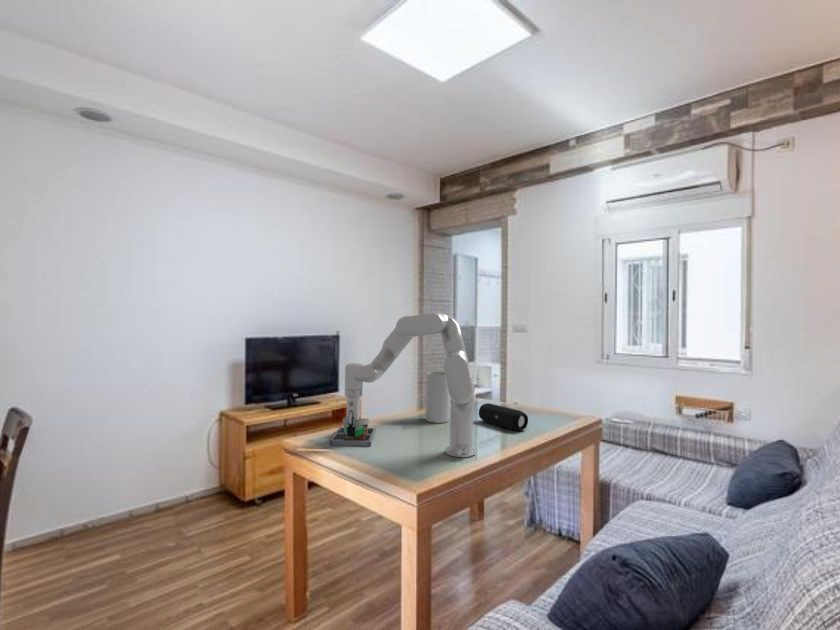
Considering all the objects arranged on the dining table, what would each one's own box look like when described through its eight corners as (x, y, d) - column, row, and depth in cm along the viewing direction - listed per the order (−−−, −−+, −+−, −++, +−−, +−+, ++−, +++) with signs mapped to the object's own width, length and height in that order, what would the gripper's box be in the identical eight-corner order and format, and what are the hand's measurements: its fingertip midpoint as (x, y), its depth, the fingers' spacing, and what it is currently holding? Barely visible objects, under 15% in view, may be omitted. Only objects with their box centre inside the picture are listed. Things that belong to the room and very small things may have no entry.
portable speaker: (477, 422, 238) (477, 403, 238) (489, 419, 245) (490, 401, 244) (516, 433, 219) (517, 413, 219) (528, 430, 225) (529, 410, 225)
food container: (335, 441, 192) (337, 417, 192) (342, 439, 198) (344, 416, 198) (362, 445, 188) (363, 421, 189) (368, 442, 194) (369, 419, 194)
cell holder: (370, 448, 189) (370, 441, 189) (329, 447, 189) (329, 440, 189) (375, 434, 210) (375, 428, 210) (339, 433, 210) (339, 427, 210)
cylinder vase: (449, 424, 233) (451, 375, 232) (425, 423, 233) (427, 374, 232) (448, 418, 245) (450, 372, 245) (425, 417, 245) (426, 371, 245)
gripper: (359, 396, 185) (358, 439, 185) (364, 388, 202) (364, 427, 203) (341, 396, 185) (340, 438, 185) (348, 388, 202) (347, 427, 203)
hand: (352, 432), depth 194 cm, fingers open, 8 cm apart
